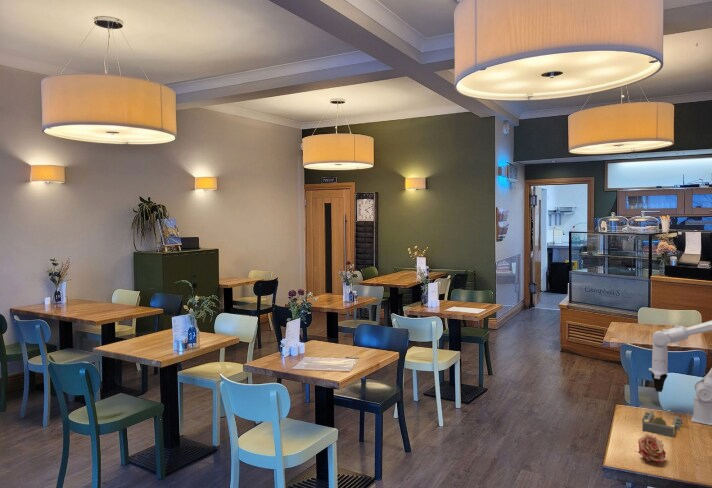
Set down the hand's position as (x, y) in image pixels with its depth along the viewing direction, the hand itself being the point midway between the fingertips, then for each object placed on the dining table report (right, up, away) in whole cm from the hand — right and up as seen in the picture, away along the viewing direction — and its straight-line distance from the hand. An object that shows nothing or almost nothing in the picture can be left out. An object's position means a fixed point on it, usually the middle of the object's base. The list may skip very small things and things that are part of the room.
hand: (659, 391), depth 228 cm
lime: (-9, -11, -16) cm, 22 cm away
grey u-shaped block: (-6, -11, -11) cm, 17 cm away
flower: (-26, -13, -42) cm, 51 cm away
